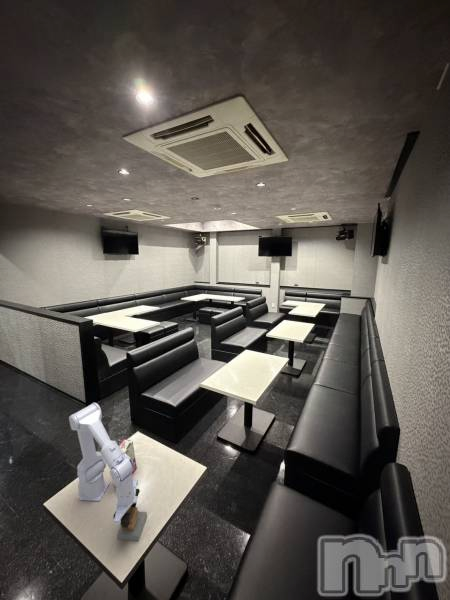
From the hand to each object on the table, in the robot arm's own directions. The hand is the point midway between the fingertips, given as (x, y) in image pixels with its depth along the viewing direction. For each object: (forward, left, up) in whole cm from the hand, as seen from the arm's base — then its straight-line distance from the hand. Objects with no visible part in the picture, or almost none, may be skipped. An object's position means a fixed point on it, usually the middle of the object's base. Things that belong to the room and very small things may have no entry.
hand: (129, 517), depth 90 cm
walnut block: (0, 0, -3) cm, 3 cm away
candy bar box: (-12, +19, -6) cm, 24 cm away
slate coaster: (+1, 0, -6) cm, 6 cm away
